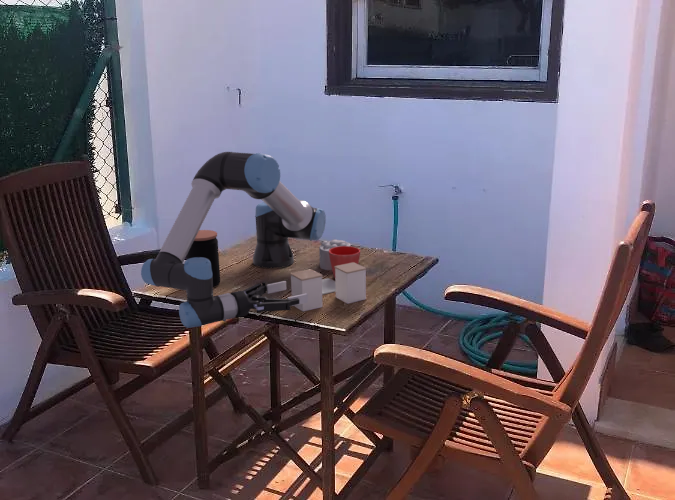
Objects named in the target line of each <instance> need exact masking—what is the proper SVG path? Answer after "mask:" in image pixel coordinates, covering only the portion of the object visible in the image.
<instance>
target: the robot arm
mask: <svg viewBox="0 0 675 500" xmlns="http://www.w3.org/2000/svg"><path fill="white" fill-rule="evenodd" d="M279 168H280V165H279V163H278V161H277V160H276V159H275V158H274V157H273V156H271V155H270V154H265V153H263V152H262V153H261V152H260V153H259V152H258V153H249V152H247V153H246V152H235V151H223V152H219V153H217V154H216V155H214V156H212V157H210V158H209V159H208V160H207V161H206V162H204V163H203V165H202V166H201V167H200V168H199V169H198V171H197V172H196V173H195V175H194V177H193V179H192V181H191V183H190V185H191V187H192V188H191V190H190V191H189V194H188V195H187V198H186V200H185V202H184V204H183V206H182V207H181V209H180V211H179V213H178V215H177V217H176V219H175V221H174V223H173V225H172V227H171V229H170V230H169V233H168V234H167V236H166V238H165V240H164V242H163V245H162V247H161V248H160V250H159V252H158V254H157V256H156V258H149V259H147V260H146V261H144V262H143V264H142V265H141V266H142V267H141V269H140V275H141V278H142V281H143V282H144V283H146V284H147V285H151V286H154V287H155V286H156V287H160V288H161V287H162V288H170V289H174V290H182V291H185V293H186V301H184V302H181V303H180V304H179V309H178V315H179V318H180V322H181V324H182V325H183V326H184V327H185V328H187V329H190V328H197V327H202V326H205V325H210V324H213V323H218V322H222V321H223V322H226V321H227V320H231V319H235V318H241V317H244V316H245V317H246V316H248V315H249V313H250V311H251V310H256V313H258V314H259V313H265V312H284V311H285V312H286V311H291V307H295V306H294V305H299V304H303V303H308V294H307V293H305V294H301V295H296V296H292V295H291V296H288V297H287V298H271V297H270V298H269V297H267V296H264V295H265V294H267V295H268V294H274V293H278V292H281V291H287V281H286V280H282V281H278V282H272V283H266V282H265V281H264V282H262V283H257V284H254V285H252V286H250V287H248V288H245V289H242V290H236V291H232V292H231V293H230V292H227V293H222V294H217V295H214V288H213V278H212V276H213V273H212V269H211V262H210V260H208V259H207V258H203V257H199V258H197V257H195V258H190V259H187V253H188V251H189V249H190V247H191V245H192V243H193V241H194V239H195V237H196V235H197V233H198V231H199V230H201V227H202V225H203V223H204V221H205V219H206V218H207V215H208V213H209V211H210V209H211V208H212V205H213V204H214V201H215V199H219V198H220V197H221V195H222V192H224V191H225V190H233V191H241V192H242V191H243V192H244V193H246V194H247V195H248V196H249V197H250V198H252V199H255V200H261V201H262V202H260V203H258V204H257V205H256V206H255V216H254V217H255V234H256V246H255V249H254V252H253V256H252V264H253V265H254V266H256V267H258V268H264V269H279V268H284V267H285V268H286V267H289V266H291V265H292V264H294V261H295V259H294V258H295V256H294V253H293V250H292V247H291V245H290V243H289V238H290V239H295V240H296V239H298V240H304V241H305V240H307V241H315V242H316V241H319V240H320V239H321V238H322V237H323V234H324V232H325V230H326V229H325V228H326V224H327V223H326V221H327V218H326V217H327V216H326V215H327V214H326V212H325V210H324V209H323V208H319V207H313V206H312V205H310V203H308V202H307V201H305V200H300V199H299V198H298V197H296V195H294V194H293V192H291V190H290V189H289V188H287V186H285V184H284V183H282V182H281V169H279ZM185 259H186V260H185Z"/></svg>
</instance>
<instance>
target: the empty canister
mask: <svg viewBox="0 0 675 500" xmlns="http://www.w3.org/2000/svg"><path fill="white" fill-rule="evenodd" d="M334 268H335V278H334V279H335V280H334V281H335V285H336V292H335V298H336V299H338V300H339V301H342V302H344V303H345V304H353V303H356V302H360V301H364V300H367V298H366V297H367V290H366V289H367V280H366V279H367V278H366V275H367V273H366V272H367V267H365V266H363V265H361V264H359V263H358V264H356V263H354V262H353V263H348V264H343V265H338V266H334Z"/></svg>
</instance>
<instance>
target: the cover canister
mask: <svg viewBox="0 0 675 500" xmlns="http://www.w3.org/2000/svg"><path fill="white" fill-rule="evenodd" d="M289 275H290V285H291V286H290V287H291V297H292V296H296V295H301V294H305V293H307V294H308V303H303V304H299V305H294V306H293V307H295V308H296V309H298V310H299V311H301V312H307V311H311V310H315V309H316V310H317V309H320V308H323V295H322V279H323V277H324V276H323V274H322V273H320V272H318V271H315V270H313V269H312V268H308V269H305V270H304V269H303V270H298V271H294V272H289Z"/></svg>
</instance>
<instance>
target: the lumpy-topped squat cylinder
mask: <svg viewBox="0 0 675 500" xmlns="http://www.w3.org/2000/svg"><path fill="white" fill-rule="evenodd" d="M339 246H350V247H352V245H351V243H350V242H347V241H346V240H343V239H342V240H339V239H332V240H329V241H327V240H324V241H322V242H321V244H320V245H319V251H318V252H319V255H318V256H319V267H320V269H322V270H325V271H332V267H331V262H330V257H329V250H330V249H331V248H334V247H339Z"/></svg>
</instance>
